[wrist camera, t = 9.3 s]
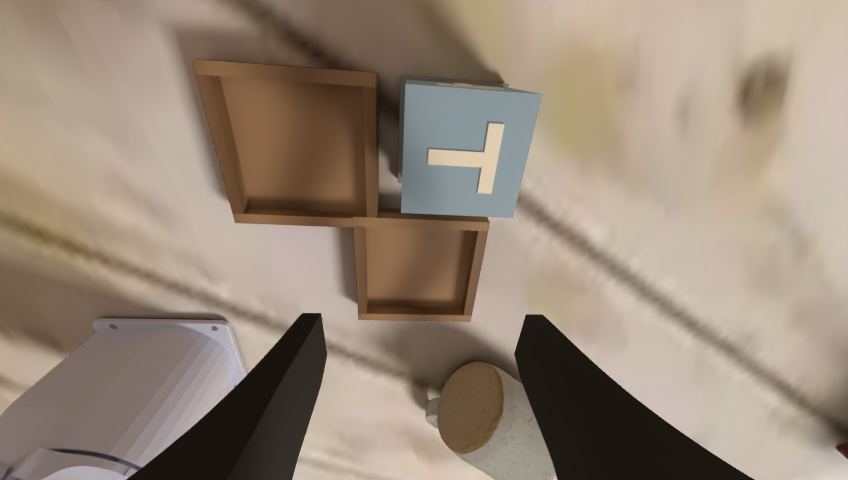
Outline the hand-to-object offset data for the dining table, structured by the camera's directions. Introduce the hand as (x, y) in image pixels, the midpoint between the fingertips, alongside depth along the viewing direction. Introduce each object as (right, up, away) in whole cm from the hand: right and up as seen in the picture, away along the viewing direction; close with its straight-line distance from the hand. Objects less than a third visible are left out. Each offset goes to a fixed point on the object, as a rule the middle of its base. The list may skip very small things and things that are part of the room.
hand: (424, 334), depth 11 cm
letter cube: (+1, +9, +6) cm, 11 cm away
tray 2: (0, +2, +11) cm, 11 cm away
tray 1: (-7, +9, +6) cm, 12 cm away
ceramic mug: (+5, -11, +18) cm, 22 cm away
